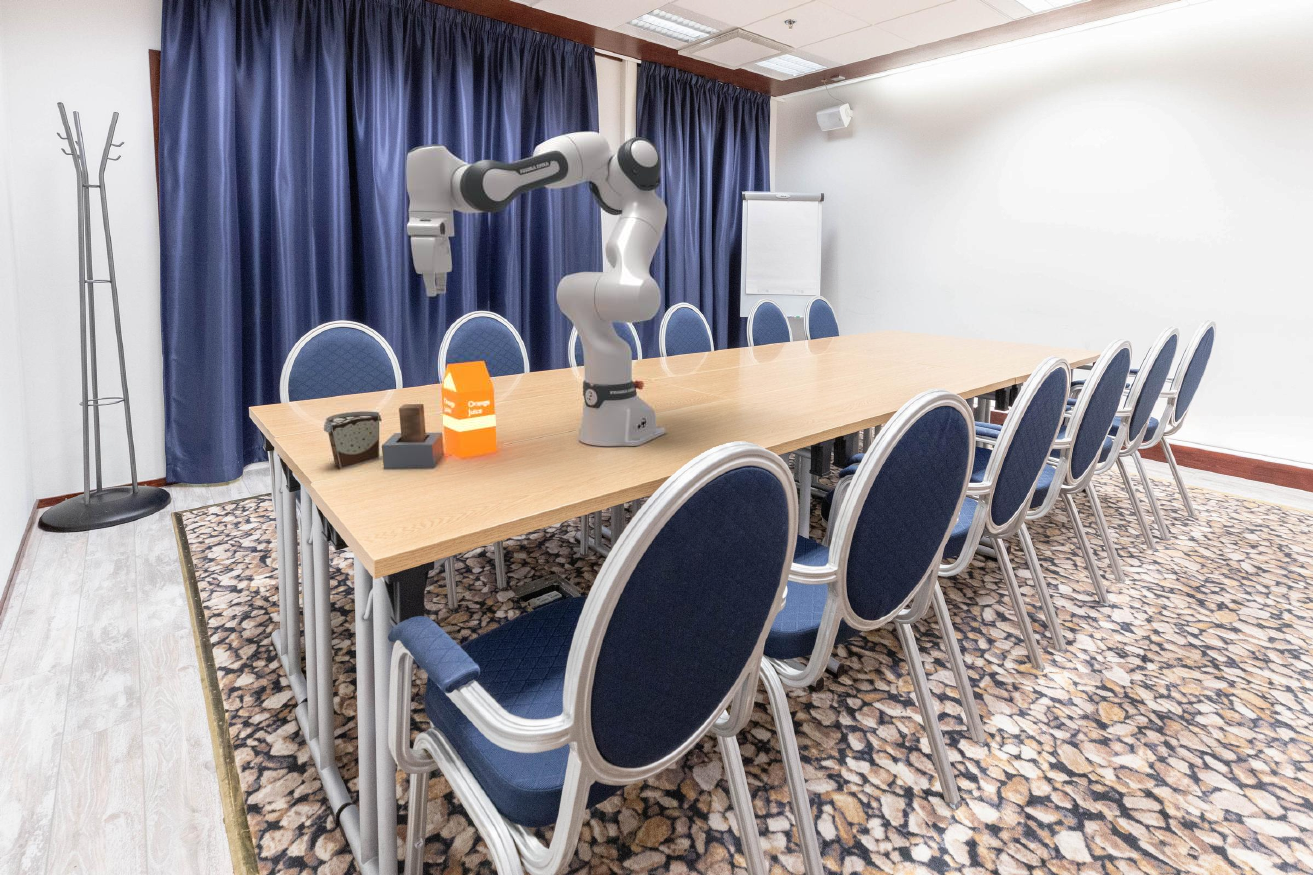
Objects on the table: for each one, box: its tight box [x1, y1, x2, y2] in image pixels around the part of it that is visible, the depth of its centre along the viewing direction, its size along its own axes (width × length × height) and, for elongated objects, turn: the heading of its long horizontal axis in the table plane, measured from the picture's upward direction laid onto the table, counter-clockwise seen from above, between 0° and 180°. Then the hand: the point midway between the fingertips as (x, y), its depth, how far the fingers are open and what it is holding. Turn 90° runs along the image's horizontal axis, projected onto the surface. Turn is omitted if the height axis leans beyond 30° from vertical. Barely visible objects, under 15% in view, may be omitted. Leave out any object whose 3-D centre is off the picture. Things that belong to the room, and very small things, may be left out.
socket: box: [381, 432, 445, 470], centre depth 146 cm, size 10×10×5 cm
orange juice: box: [440, 360, 498, 459], centre depth 152 cm, size 8×9×20 cm
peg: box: [398, 403, 427, 442], centre depth 145 cm, size 4×4×12 cm
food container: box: [323, 410, 383, 470], centre depth 145 cm, size 12×6×10 cm, turn 149°
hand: (436, 295), depth 148 cm, fingers open, 8 cm apart
